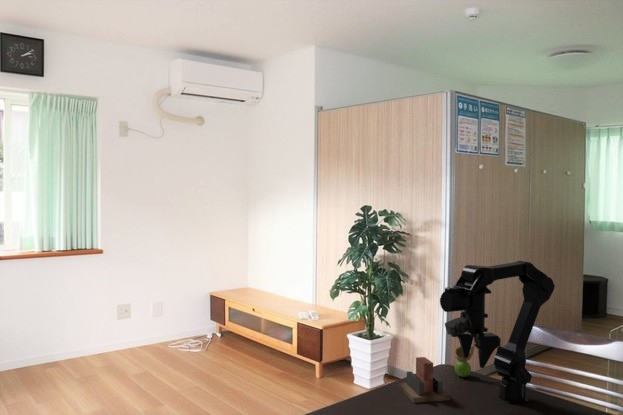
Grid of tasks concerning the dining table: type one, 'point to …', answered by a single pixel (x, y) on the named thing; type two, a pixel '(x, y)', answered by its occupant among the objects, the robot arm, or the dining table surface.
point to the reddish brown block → (425, 373)
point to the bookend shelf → (416, 389)
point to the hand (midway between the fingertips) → (473, 362)
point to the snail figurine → (463, 362)
